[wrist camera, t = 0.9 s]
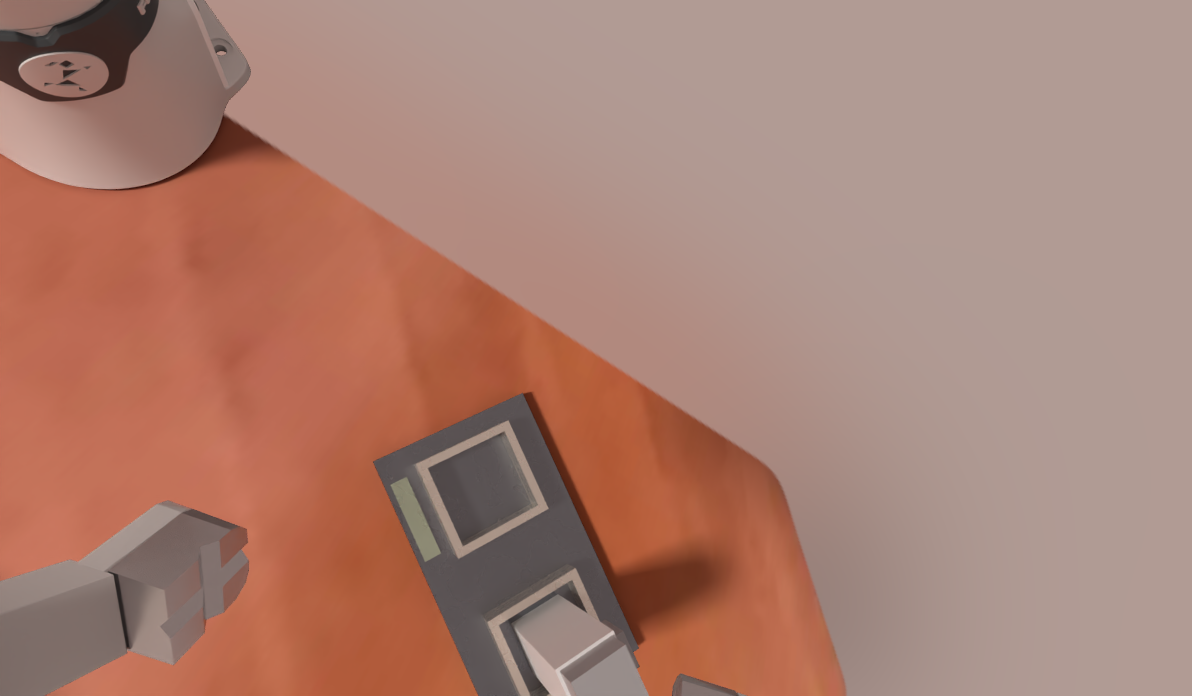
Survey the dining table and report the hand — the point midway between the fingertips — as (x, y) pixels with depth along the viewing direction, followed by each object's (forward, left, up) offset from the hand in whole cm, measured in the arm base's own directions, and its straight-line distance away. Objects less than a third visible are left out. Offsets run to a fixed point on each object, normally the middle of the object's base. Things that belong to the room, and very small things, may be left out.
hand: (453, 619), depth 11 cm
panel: (+8, +6, -36) cm, 37 cm away
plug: (+14, +6, -35) cm, 38 cm away
